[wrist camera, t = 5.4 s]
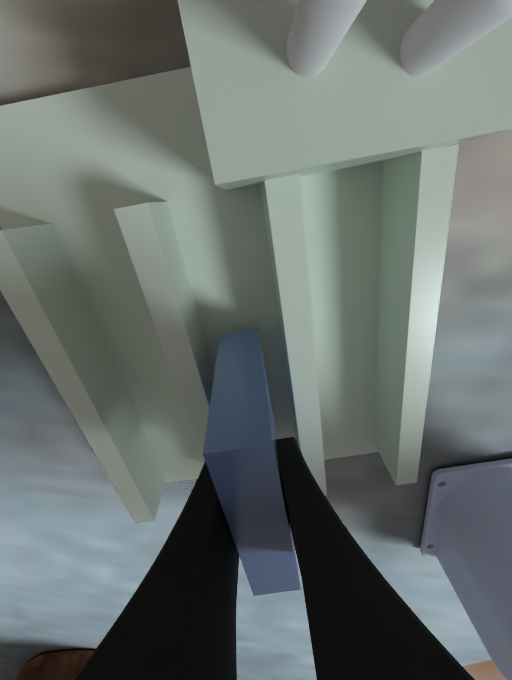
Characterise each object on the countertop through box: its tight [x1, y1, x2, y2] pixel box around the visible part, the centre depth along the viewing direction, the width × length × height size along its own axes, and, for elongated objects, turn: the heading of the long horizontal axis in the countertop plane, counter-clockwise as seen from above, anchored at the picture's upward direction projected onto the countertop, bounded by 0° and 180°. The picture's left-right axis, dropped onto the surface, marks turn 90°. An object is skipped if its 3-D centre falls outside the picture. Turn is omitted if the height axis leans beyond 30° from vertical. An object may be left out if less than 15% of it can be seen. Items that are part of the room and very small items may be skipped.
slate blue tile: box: [203, 328, 301, 596], centre depth 11 cm, size 7×2×6 cm, turn 9°
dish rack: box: [0, 0, 512, 523], centre depth 10 cm, size 18×16×8 cm
